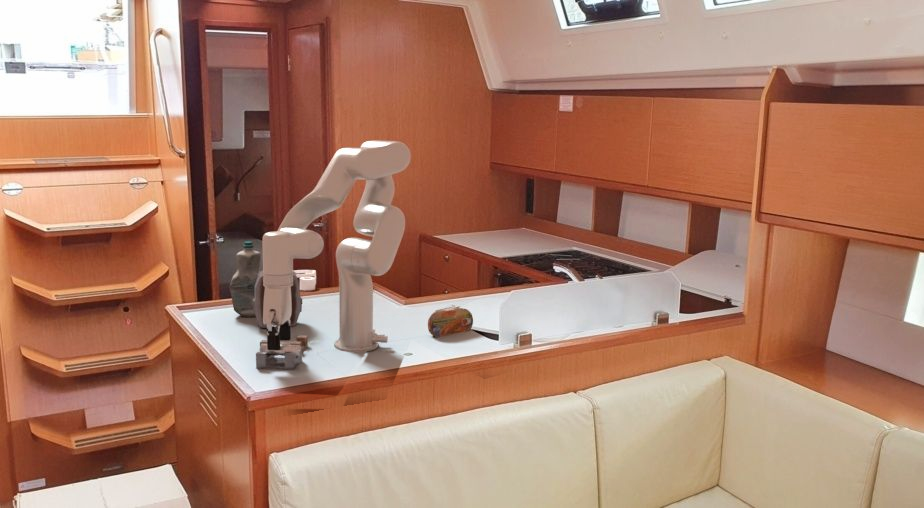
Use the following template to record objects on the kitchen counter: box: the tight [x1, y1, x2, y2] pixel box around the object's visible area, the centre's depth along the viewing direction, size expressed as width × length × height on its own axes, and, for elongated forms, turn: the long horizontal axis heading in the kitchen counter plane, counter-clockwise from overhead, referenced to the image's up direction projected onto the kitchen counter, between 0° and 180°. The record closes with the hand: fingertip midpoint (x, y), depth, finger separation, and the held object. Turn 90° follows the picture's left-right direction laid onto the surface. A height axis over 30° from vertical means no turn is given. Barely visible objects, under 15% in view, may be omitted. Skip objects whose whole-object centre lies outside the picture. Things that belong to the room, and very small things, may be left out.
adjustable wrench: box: [434, 304, 461, 312], centre depth 256 cm, size 25×6×2 cm, turn 155°
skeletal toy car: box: [293, 269, 317, 291], centre depth 285 cm, size 20×11×7 cm, turn 113°
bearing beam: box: [259, 335, 309, 352], centre depth 213 cm, size 11×8×3 cm
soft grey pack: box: [253, 269, 303, 329], centre depth 235 cm, size 15×8×20 cm, turn 109°
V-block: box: [255, 347, 303, 371], centre depth 199 cm, size 10×7×4 cm
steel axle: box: [259, 344, 301, 357], centre depth 199 cm, size 10×3×3 cm, turn 87°
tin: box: [427, 307, 474, 338], centre depth 230 cm, size 15×3×8 cm, turn 123°
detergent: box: [229, 240, 262, 318], centre depth 245 cm, size 13×7×25 cm, turn 112°
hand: (279, 344), depth 198 cm, fingers open, 8 cm apart
